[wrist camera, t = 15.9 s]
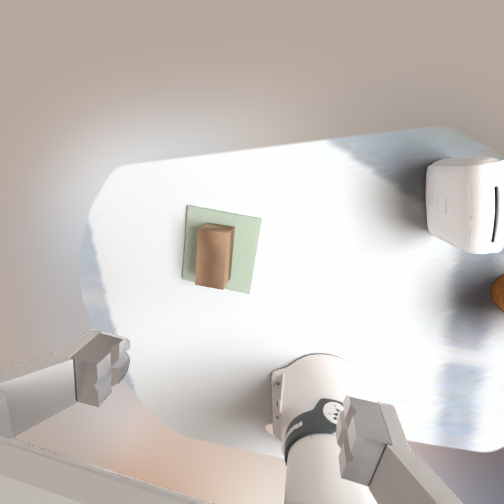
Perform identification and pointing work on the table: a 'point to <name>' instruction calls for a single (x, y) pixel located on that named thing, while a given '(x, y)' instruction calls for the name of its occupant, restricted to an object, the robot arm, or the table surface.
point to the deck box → (214, 255)
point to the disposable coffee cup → (498, 292)
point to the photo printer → (467, 203)
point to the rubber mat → (242, 247)
